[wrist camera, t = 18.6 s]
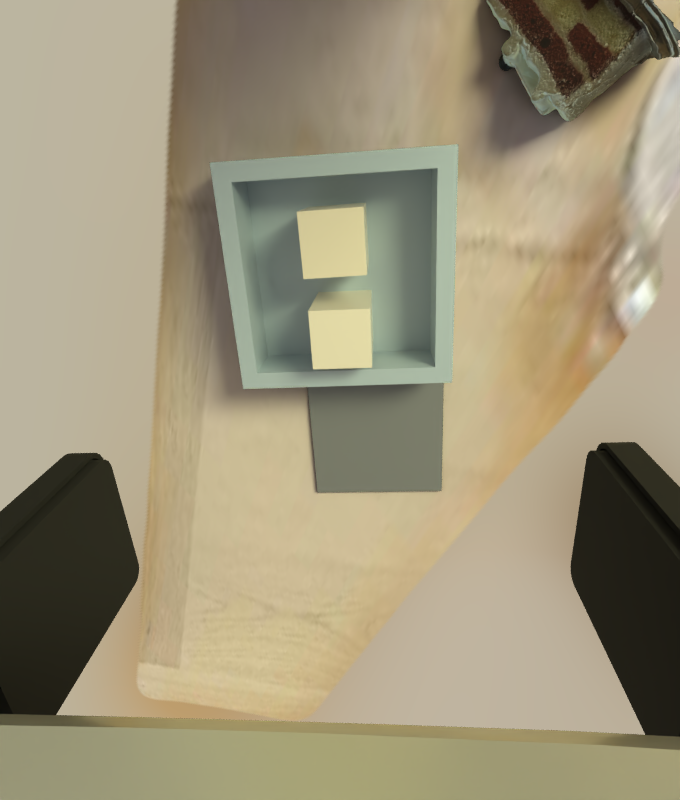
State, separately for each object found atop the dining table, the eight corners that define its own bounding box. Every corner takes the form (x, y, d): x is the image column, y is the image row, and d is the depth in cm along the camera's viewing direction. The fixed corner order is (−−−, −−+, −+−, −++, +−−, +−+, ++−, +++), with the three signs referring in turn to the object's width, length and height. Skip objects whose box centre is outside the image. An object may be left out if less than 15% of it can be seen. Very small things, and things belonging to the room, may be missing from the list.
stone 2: (318, 292, 38) (308, 311, 33) (371, 289, 38) (370, 308, 32) (322, 343, 40) (313, 369, 34) (373, 341, 39) (372, 367, 34)
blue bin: (229, 164, 36) (209, 162, 32) (449, 148, 34) (458, 144, 30) (256, 368, 42) (243, 389, 38) (444, 361, 40) (452, 382, 36)
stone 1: (309, 206, 36) (296, 211, 30) (366, 202, 36) (363, 206, 30) (314, 264, 37) (303, 279, 32) (368, 260, 37) (366, 275, 32)
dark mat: (307, 376, 42) (306, 378, 41) (443, 372, 41) (443, 373, 40) (318, 490, 46) (317, 492, 46) (441, 488, 45) (441, 490, 45)
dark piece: (437, -13, 31) (526, 115, 26) (538, -143, 27) (665, -18, 22) (509, 70, 38) (590, 183, 33) (599, -23, 34) (705, 92, 29)
